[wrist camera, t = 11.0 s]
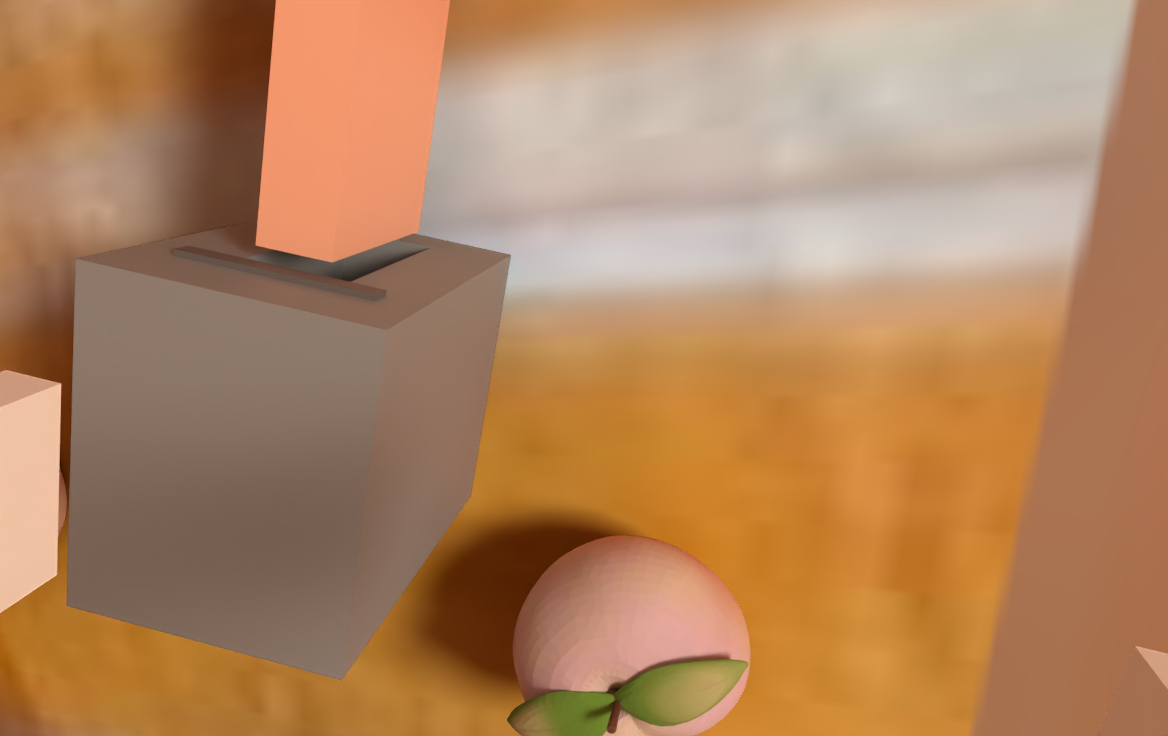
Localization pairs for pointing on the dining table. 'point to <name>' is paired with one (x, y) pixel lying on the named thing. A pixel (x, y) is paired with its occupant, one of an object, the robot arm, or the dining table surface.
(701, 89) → the dining table surface
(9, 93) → the dining table surface
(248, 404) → the gray rectangular block
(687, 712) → the decorative fruit
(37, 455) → the robot arm
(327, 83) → the orange rectangular block
